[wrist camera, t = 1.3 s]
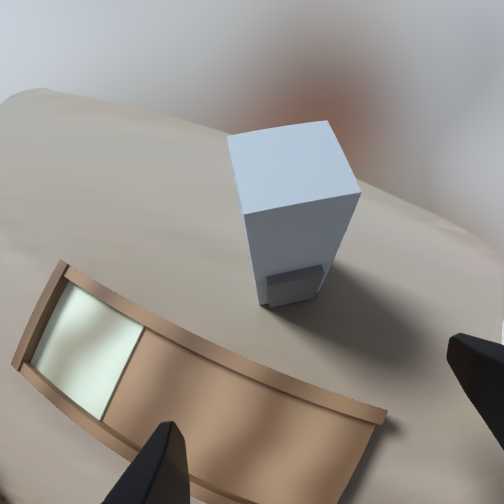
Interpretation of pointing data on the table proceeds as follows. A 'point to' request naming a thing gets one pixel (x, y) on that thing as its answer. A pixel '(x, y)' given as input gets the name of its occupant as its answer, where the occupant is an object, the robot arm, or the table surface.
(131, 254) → the table surface
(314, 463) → the rail board
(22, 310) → the table surface
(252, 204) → the pale blue tall block
